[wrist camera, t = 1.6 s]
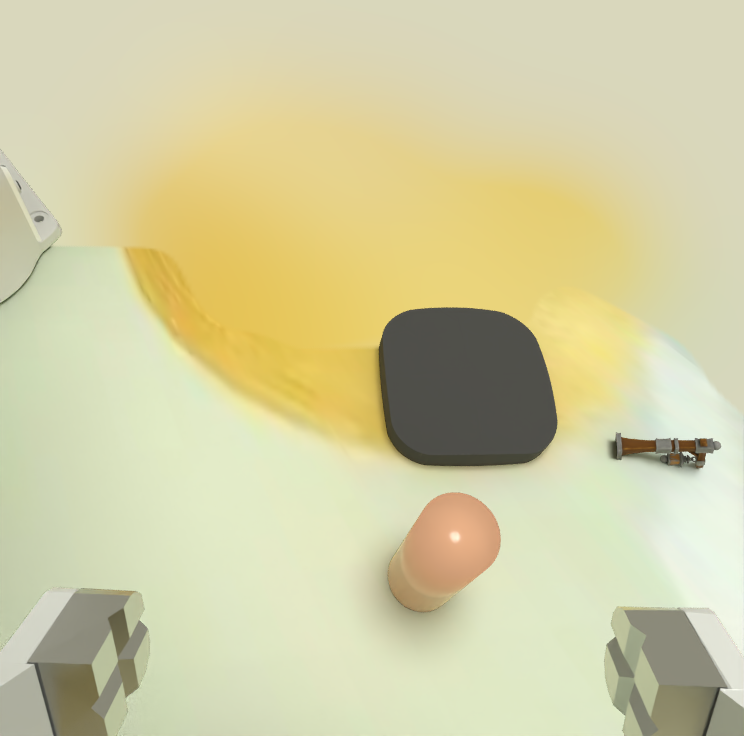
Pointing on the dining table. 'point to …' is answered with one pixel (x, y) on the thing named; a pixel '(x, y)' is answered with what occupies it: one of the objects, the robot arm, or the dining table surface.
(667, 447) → the brown grey jointed tubes
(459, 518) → the salmon orange cylinder
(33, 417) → the dining table surface
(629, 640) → the robot arm
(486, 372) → the media streaming box
